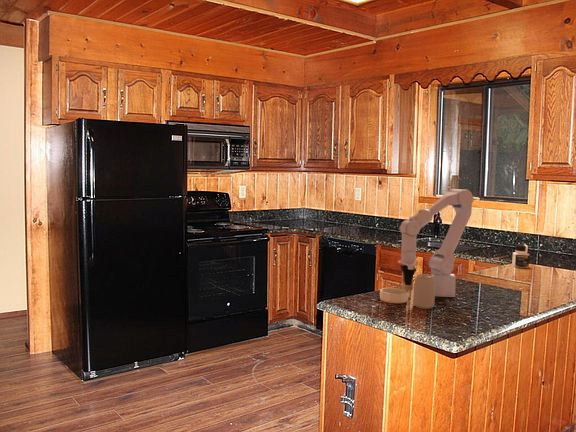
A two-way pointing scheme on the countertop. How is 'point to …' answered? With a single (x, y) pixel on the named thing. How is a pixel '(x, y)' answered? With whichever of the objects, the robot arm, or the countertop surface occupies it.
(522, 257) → the medicine bottle
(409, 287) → the beige rectangular block
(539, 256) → the countertop surface
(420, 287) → the can
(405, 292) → the beige shallow bowl
